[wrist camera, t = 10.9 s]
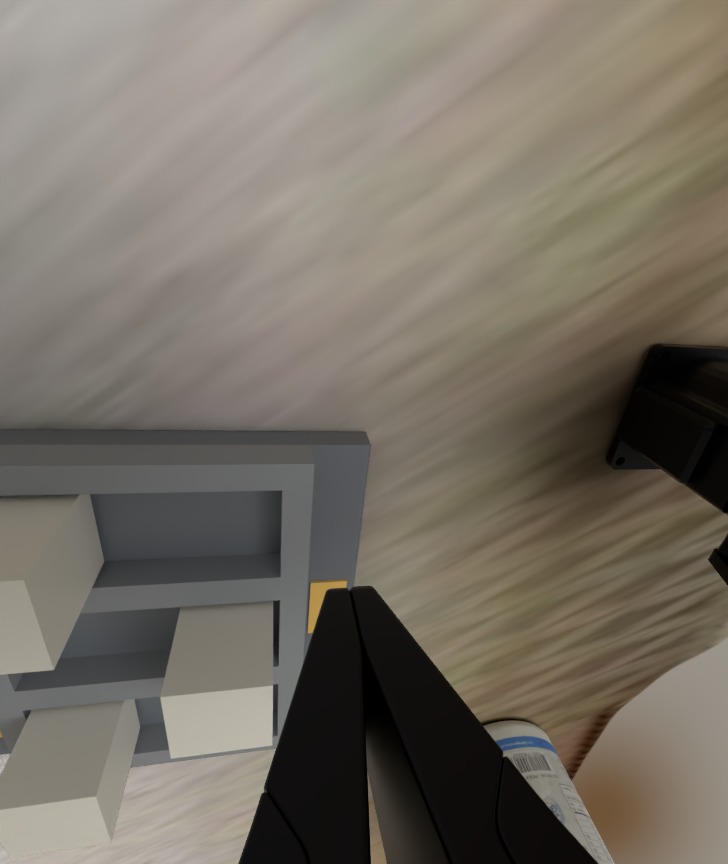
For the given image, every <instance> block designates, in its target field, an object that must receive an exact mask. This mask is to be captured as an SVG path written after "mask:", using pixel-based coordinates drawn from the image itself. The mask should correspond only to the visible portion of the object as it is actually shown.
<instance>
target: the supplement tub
mask: <svg viewBox="0 0 728 864" xmlns="http://www.w3.org/2000/svg"><path fill="white" fill-rule="evenodd" d="M483 727H484V728H485V729H486V730H487V732H488V733H489V734H490V735H491V737H492V738H493V739H494V740H495V742H496V743H497V744H498V745H499V747H500V748H501V749H502V751H503V757H504V756H507V757H508V758H509V759H510V760H511V762H512V763H513V764H514V765H515V767H516V768H517V769H518V771H519V772H520V773H521V774H522V776H523V777H524V778H525V779H526V781H527V782H528V783H529V784H530V786H531V787H532V788H533V789H534V790H535V792H536V793H537V794H538V795H539V796H540V798H541V799H542V800H543V801H544V802H545V804H546V805H547V806H548V807H549V808H550V810H551V811H552V812H553V813H554V815H555V816H556V817H557V818H558V819H559V820H560V821H561V823H562V824H563V825H564V826H565V827H566V828H567V829H568V830H569V831H570V833H571V834H572V835H573V836H574V837H575V838H576V839H577V840H578V841H579V842H580V844H581V845H582V846H583V847H584V848H585V849H586V850H587V851H588V852H589V853H590V855H591V856H592V857H593V858H594V859H595V860H596V861H597V862H598V863H599V864H614V862H613V860H612V858H611V856H610V854H609V852H608V850H607V849H606V847H605V845H604V843H603V841H602V839H601V837H600V835H599V833H598V831H597V829H596V827H595V826H594V824H593V822H592V820H591V818H590V816H589V814H588V812H587V810H586V808H585V806H584V804H583V802H582V801H581V799H580V797H579V795H578V793H577V791H576V789H575V787H574V785H573V783H572V781H571V780H570V778H569V776H568V774H567V772H566V770H565V768H564V766H563V764H562V763H561V761H560V759H559V757H558V755H557V753H556V751H555V749H554V747H553V746H552V744H551V742H550V740H549V738H548V736H547V735H546V733H545V732H544V731H543V730H542V729H540V728H539V727H537V726H536V725H534V724H531V723H528V722H525V721H500V722H495V723H491V724H487V725H484V726H483Z"/></svg>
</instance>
